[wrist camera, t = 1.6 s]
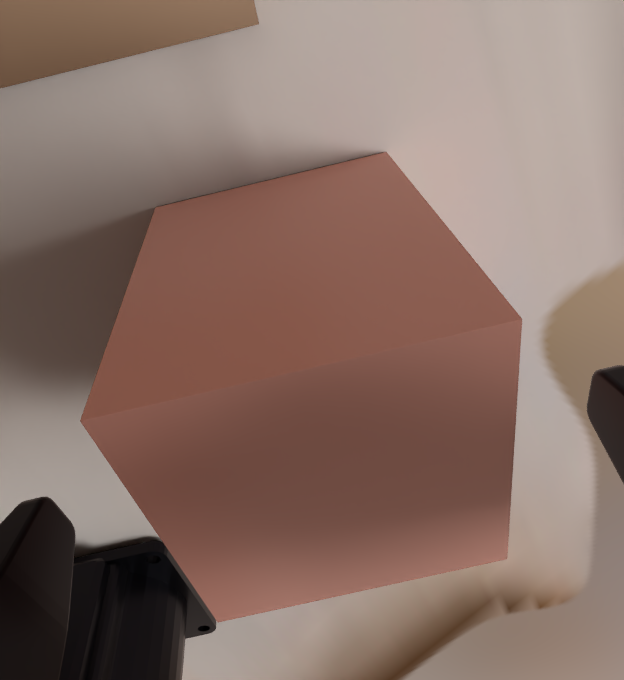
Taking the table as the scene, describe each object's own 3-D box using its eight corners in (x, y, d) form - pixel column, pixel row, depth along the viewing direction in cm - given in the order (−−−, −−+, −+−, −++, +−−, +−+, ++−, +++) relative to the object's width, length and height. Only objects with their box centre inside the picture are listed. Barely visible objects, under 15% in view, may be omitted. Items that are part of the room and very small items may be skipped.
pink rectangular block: (406, 338, 14) (507, 558, 9) (225, 380, 14) (218, 622, 9) (386, 152, 11) (522, 318, 6) (155, 207, 11) (80, 421, 6)
